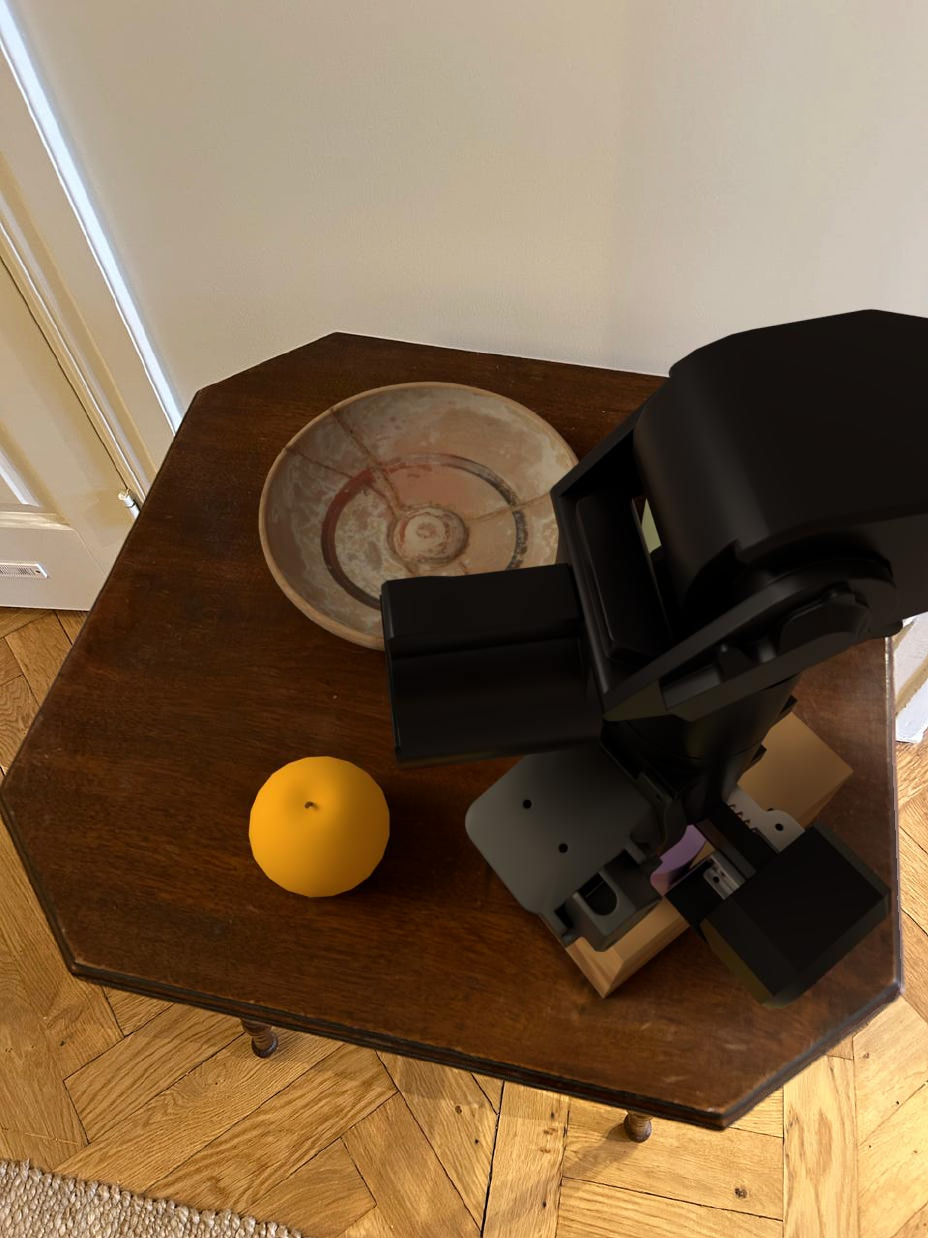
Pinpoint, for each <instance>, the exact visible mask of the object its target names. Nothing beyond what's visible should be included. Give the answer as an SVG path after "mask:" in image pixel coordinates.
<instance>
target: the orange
mask: <svg viewBox="0 0 928 1238" xmlns="http://www.w3.org/2000/svg"><path fill="white" fill-rule="evenodd" d="M249 817H250V818H249V827H248V837H249V842H250V847H251V852H252V855H253V858H254V860H255V861H256V863H257V864H258V865H259V867H260V869H261V870H262V871H263V872H264V875H266V877H268V879H270V880H272V882H274V883H276V884H277V885H278V886H280V887H281V888H283V889H284V890H286V891H288V892H290V893H294V894H298V895H301V896H304V897H307V898H321V897H323V898H324V897H333V896H336V895H339V894H341V893H344V892H347V891H350V890H352V889H354V888H355V887H356V886H358V885H359V884H361V883H362V882H364V881H365V880H367V879H368V878H369V877H370V876H371V875H372V874H373V872H374V871H375V869H376V868H377V866H378V865H379V864H380V862H381V861H382V859H383V857H384V854H385V851H386V847H387V845H388V841H389V838H390V810H389V807H388V803H387V800H386V798H385V795H384V792H383V790H382V788H381V787H380V785H378V783H377V782H376V781H375V780H374V778H373V777H372V776H371V775H370V773H368V772H367V771H365V770H364V769H362V768H361V767H359V766H358V765H356V764H354V763H352V762H350V761H347V760H344V759H340V758H337V757H334V756H333V757H332V756H328V755H326V756H325V755H324V756H323V755H322V756H309V757H303V758H301V759H297V760H295V761H292V762H289V763H287V764H285V765H284V766H282V767H281V768H279V769H278V770H276V771H274V772H273V773H272V774H271V775H270V777H269V778H268V779H267V780H266V782H265V783H264V784H263V785H262V787H261V788H260V789H259V790H258V793H257V795H256V798H255V800H254V803H253V805H252V808H251V810H250V815H249Z"/></svg>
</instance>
